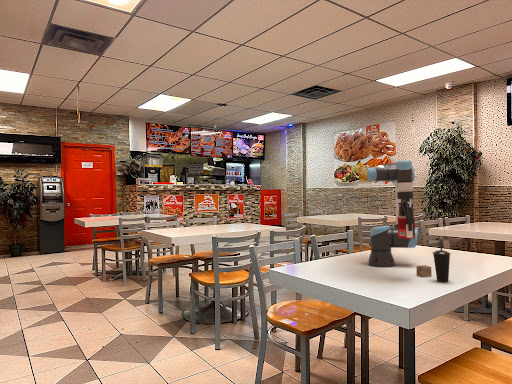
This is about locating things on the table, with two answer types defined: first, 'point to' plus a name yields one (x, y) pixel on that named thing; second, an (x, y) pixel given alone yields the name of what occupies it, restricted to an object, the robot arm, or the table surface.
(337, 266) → the table surface
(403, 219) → the canned food
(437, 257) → the drinking cup
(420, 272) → the walnut block
